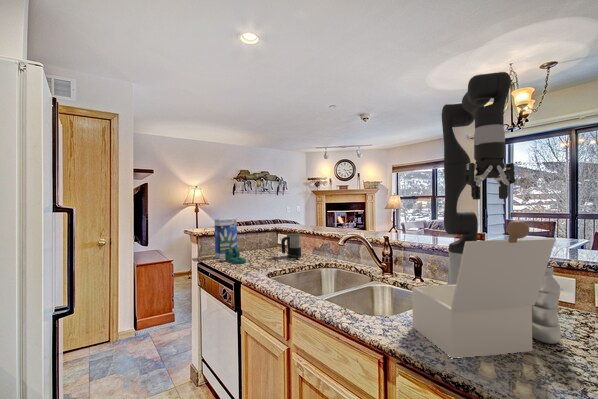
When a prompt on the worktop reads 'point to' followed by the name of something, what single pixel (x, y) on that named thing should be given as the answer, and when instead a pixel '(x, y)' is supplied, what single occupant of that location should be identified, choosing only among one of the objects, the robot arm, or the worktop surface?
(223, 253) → the string lights box
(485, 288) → the carton lid
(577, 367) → the worktop surface
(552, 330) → the plastic bottle
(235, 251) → the green toy boot
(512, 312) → the carton
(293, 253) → the milk frother
